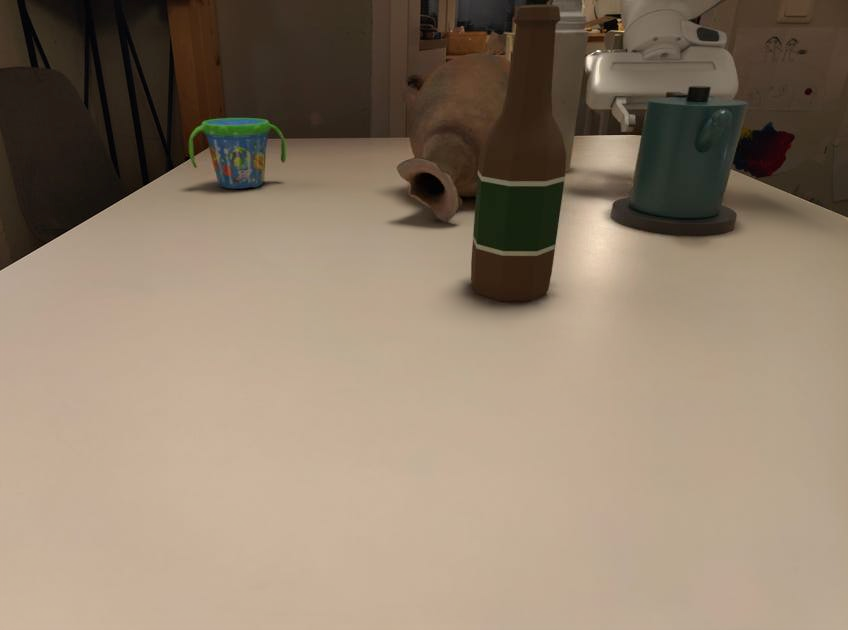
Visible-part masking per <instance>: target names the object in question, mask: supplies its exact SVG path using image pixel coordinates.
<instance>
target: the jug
mask: <svg viewBox="0 0 848 630" xmlns="http://www.w3.org/2000/svg"><path fill="white" fill-rule="evenodd" d="M510 65H511V60H509V59H507V58H505V57H503V56H500V55H497V54H492V53H479V52H477V53H475V52H474V53H467V54H464V55H459V56H457V57H454V58H452V59H450V60H448V61H446V62H445V63H442V64H441V65H440V66H438V67H437V68H435V69H434V70H433V71H432V72H431V73H430V74H428V75H424V74H409V75H407V76H406V77H405V79H404V80H403V84H402V85H401V86H402V87H401V98H402V101H403V103H404V105H405V106H406V107H407V109H408V111H409V125H408V126H409V127H408V137H409V142H410V148H411V151H412V154H413V157H412V158H408V159H405V160H404V161H402V162H400V163H399V164H397V166H396V171H397V173H398V175H399V177H401V179H403V180H405V182H408V190H407V192H408V196H410V197H412V198H414V199H415V200H416V201H419V202H420V204H423V205H424V206H425V207H428V208H430V209H431V210H432V211H433V213H434V215H435V217H436V218H437V219H439V220H440V221H442V222H445V223H446V222H448V221H451V219H452V218H453V217H455V214H456V212H457V211H458V210H459V209H460V208H461V206H462V205H463V199H462V197H463V198H474V197H475V198H476V190H477V176H478V166H479V159H480V153H481V148H482V146H483V143H484V141H485V138H486V136H487V134H488V131H489V130H490V128H491V127H492V126H493V124H494V123H495V121H496V120H497V119H498V117H499V116H500V114H501V113H502V109H503V105H504V101H505V97H506V92H507V85H508V79H509V72H510ZM411 88H412V89H414V90H411ZM415 90H416V91H415Z"/></svg>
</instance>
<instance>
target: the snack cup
mask: <svg viewBox="0 0 848 630" xmlns="http://www.w3.org/2000/svg"><path fill="white" fill-rule="evenodd" d="M271 129H272V130H273V131H275V133H277V135H278V136H279V138H280V142H281V144H280V145H281V146H280V161H281V163H285V162H286V159H287V144H286V139H285V137H284V135H283V133H282V131H281V130H280V129H279V128H278V127H277V126H276V125H274V124H271V123H270V121H269V120H267V119H264V118H256V117H255V118H253V117H225V118H223V117H222V118H213V119H207V120H203V121H202V123H201V125H199V126H197V127H196V128H194V130H193V131H192V132H191V134H190V136H189V139H188V153H189V159H190V161H191V164H192V166H193V168H194V169H196V168H197V163H196V162H195V150H194V149H195V147H194V138H195V137H196V136H197V135H198V133H199V132H202V133H203V134H204V135H205V136H206V140H207V143H208V149H209V153H210V156H211V162H212V165H213V168H214V172H215V176H216V180H217V183H218V186H219V187H223V188H225V189H232V190H240V189H242V190H243V189H248V188H258V187H260V186H261V185H263V183H264V181H265V174H266V173H265V172H266V157H267V155H266V154H267V143H268V139H269V135H270V130H271Z"/></svg>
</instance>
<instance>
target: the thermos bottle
mask: <svg viewBox="0 0 848 630" xmlns="http://www.w3.org/2000/svg"><path fill="white" fill-rule="evenodd" d="M551 5H555V6H557V7H559V11H560V19H561V20H560V21H559V22H558V23H557V24H556V30H555V46H554V62H553V78H552V94H551V97H552V115H553V117H554V119H555V121H556V123H557V125H558V127H559V129H560V132H561V134H562V136H563V141H564V146H565V151H566V168H565V173H568V172H569V171H570V170H571V162H572V155H573V149H574V148H573V147H574V142H575V141H574V140H575V134H576V133H575V132H576V125H577V118H578V112H579V105H580V99H581V97H580V96H581V92H582V91H581V90H582V82H583V78H584V77H583V76H584V71H585V68H584V60H585V58H586V56H587V55H586V54H587V48H588V41H589V30H586V25H587V24H586V23H587V22H588V20H587V15H586V14H584V13H583V0H552V3H551Z"/></svg>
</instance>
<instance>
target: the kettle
mask: <svg viewBox="0 0 848 630" xmlns="http://www.w3.org/2000/svg"><path fill="white" fill-rule="evenodd" d="M710 89H711V87H707V86H690V87H689V89H688V94H684V93H681V92H667V93H666V98H653V99H649V100H648V103H647V109H645V115H644V119H643V125H642V131H641V135H640V141H639V147H638V152H637V157H636V162H635V166H634V167H635V168H634V173H633V178H632V184H631V188H630V194H629V197H630V198H629V206H630V207H631V208H633V209H635V210H637V211H640V212H643V213H647V214H652V215H657V216H664V217H673V218H706V217H712V216H715V215H717V214H719V212H720V209H721V206H722V205H723V201H724V197H725V194H726V190H727V187H728V183H729V179H730V174H731V171H732V167H733V163H734V160H735V155H736V153H737V152H736V151H737V147H738V143H739V139H740V137H741V132H742V128H743V125H744V120H745V118H746V117H745V116H746V113H747V109H748V105H749V103H748V102H747V101H745V100H739V99H720V98H709V94H710Z"/></svg>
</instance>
